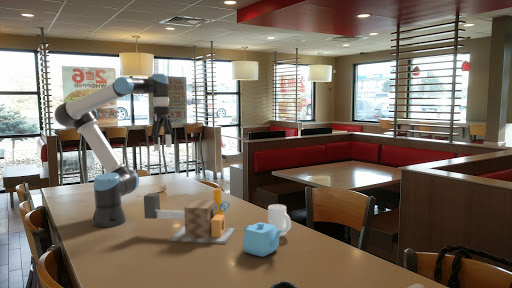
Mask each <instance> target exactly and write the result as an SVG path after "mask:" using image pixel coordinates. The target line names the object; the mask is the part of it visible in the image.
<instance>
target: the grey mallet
mask: <svg viewBox="0 0 512 288" xmlns="http://www.w3.org/2000/svg"><path fill="white" fill-rule="evenodd" d="M160 198H161V197H160V193H155V192H154V193H153V192H152V193H151V192H149V193H147V194H144V195H143V207H144V209H143V211H144V219H151V220H152V219H154V220H156V219H167V220H169V219H171V220H185V213H184V209H183V210H180V209H177V210H176V209H161V203H160V202H161V201H160V200H161V199H160Z"/></svg>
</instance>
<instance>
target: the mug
mask: <svg viewBox="0 0 512 288" xmlns="http://www.w3.org/2000/svg"><path fill="white" fill-rule="evenodd" d="M267 224H270V225H274V226H276V229H277V231H278V230H284V231H282V232H281V233H280V237H283V236H285V235H287V232H289V231H290V230H291V227H292V221H291V217H290V216H289V214H287V206H286V205H284V204H279V203H277V204H270V205H268V207H267Z"/></svg>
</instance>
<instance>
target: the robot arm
mask: <svg viewBox="0 0 512 288" xmlns="http://www.w3.org/2000/svg"><path fill="white" fill-rule="evenodd" d="M169 84H170V83H169V76H168V74H167V73H166V74H165V73H153V74H152V75H151V77H150V78H145V77H144V78H143V77H142V78H139V77H128V76H119V77H117V78H116V79H115V80H114V81H113V82H112V83H110V84H108V85H105V86H103V87H101V88H98V89H97V90H94V91H93V92H90V93H88V94H87V95H83V96H82V97H79V98H77V99H75V100H67V101H66V102H63V103H61V104H59V105H58V106H56V109H55V110H54V118H55V120H56V122H57V123H58V124H59V125H60V126H63V127H66V128H69V127H73V128H74V129H75V131H76V132H77V134H82V136H83V137H84V139H85V141H86V143H87V144H88V145H89V147H90V149H91V150H92V152H93V153H94V156H96V158H97V160H98V161H99V163H100V164H101V166H102V168H103V169H104V171H105V173H102V174H99V175H97V176H96V177H95V178H94V180H93V189H94V191H93V192H94V204H95V206H94V207H95V209H94V213H93V216H92V221H91V222H92V225H93V227H96V228H109V227H110V228H111V227H117V226H119V225H122V224H124V223H125V222H126V221H127V218H126V213H125V212H124V211H125V210H124V209H123V206H122V197H123V196H126V195H129V194H131V193H132V192H134V191H136V190H137V188H138V187H139V184H140V178H139V175H138V173H137V172H136V171H135V170H133V169H129V167H128V166H127V164H124V163H122V161H121V160H120V159H119V157H118V155H117V154H116V152H115V151H114V150H113V148H112V146H111V144H110V142H108V140H107V138H106V137H105V135H104V133H103V132H102V131H101V129H100V128H99V126H98V125H99V120H98V111H97V109H99V108H101V107H103V106H105V105H108V104H110V103H113V102H115V101H117V100H119V99H121V98H124V97H126V96H128V95H147V94H148V95H149V94H151V95H152V103H153V114H154V115H155V116H153V118H152V119H153V120H152V121H153V122H152V127H151V132H150V135H151V136H150V137H151V138H153V151H154V152H161V143H160V142H161V138H160V137H159V136H160V133H161V130H162V127H163V129H164V132H165V148H172V135H174V131H173V127H172V121H171V118H170V115H169V114H170V106H169V105H170V95H169V94H170V93H169Z"/></svg>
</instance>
